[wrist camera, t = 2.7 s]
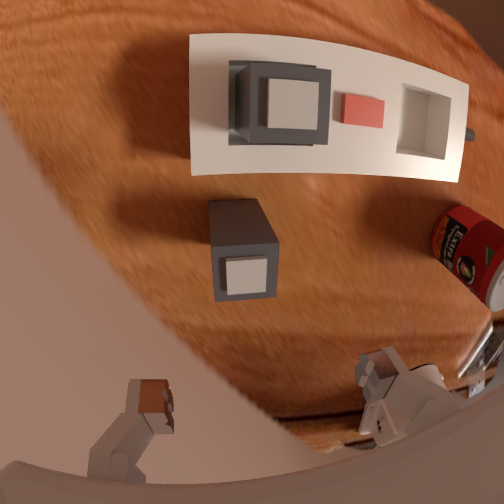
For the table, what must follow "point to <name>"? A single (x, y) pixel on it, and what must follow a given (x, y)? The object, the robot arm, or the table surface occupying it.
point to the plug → (242, 251)
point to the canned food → (472, 252)
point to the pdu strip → (348, 147)
